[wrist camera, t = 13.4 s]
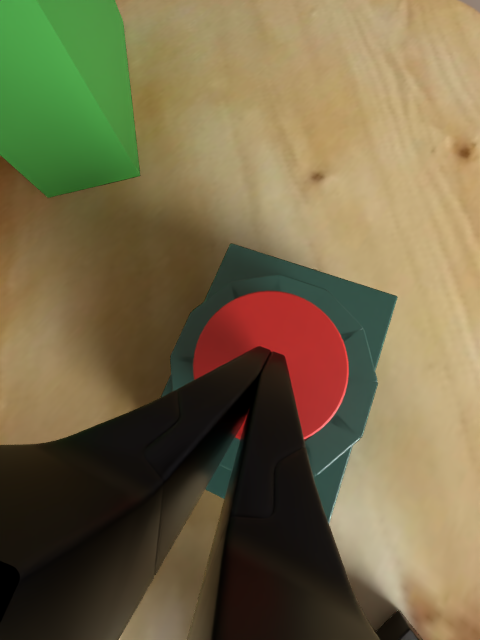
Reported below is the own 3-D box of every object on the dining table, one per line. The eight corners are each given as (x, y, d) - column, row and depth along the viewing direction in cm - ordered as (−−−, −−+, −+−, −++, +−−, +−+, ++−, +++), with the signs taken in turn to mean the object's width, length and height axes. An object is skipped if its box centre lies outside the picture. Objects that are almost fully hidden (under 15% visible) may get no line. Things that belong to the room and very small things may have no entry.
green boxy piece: (308, 509, 15) (331, 577, 9) (167, 440, 17) (112, 462, 11) (369, 319, 17) (417, 280, 12) (239, 275, 19) (224, 221, 13)
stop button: (308, 458, 11) (319, 476, 8) (188, 405, 12) (167, 406, 9) (349, 335, 12) (369, 319, 9) (236, 295, 13) (227, 271, 10)
